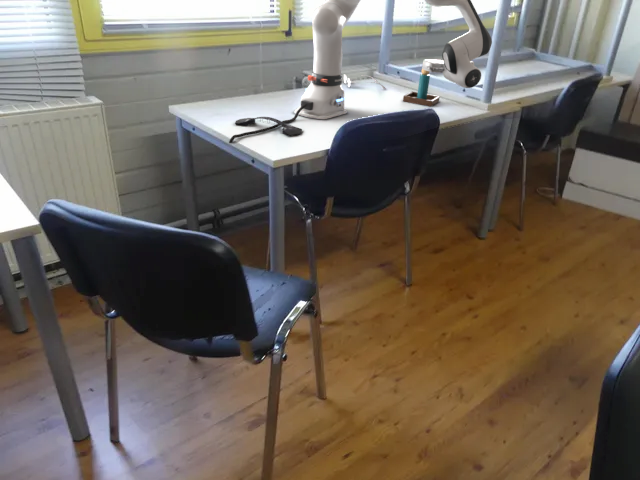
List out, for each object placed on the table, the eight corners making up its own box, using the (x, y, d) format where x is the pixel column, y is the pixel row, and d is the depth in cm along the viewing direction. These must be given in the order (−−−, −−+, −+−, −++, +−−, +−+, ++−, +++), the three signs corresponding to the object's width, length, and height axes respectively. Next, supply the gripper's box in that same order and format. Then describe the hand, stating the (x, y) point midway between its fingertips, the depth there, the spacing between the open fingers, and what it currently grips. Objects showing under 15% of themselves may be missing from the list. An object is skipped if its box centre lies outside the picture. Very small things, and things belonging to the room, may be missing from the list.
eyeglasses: (342, 81, 269) (343, 73, 267) (377, 82, 273) (378, 74, 271) (349, 89, 256) (350, 80, 254) (386, 90, 261) (387, 81, 259)
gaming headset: (293, 137, 186) (293, 127, 184) (231, 124, 193) (230, 114, 192) (305, 131, 193) (306, 121, 192) (245, 118, 201) (245, 109, 199)
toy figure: (424, 101, 244) (429, 68, 237) (415, 100, 245) (419, 66, 238) (427, 100, 247) (432, 66, 240) (418, 98, 249) (423, 65, 242)
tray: (431, 106, 240) (432, 101, 239) (402, 101, 244) (403, 95, 243) (439, 101, 249) (439, 96, 248) (411, 96, 253) (412, 91, 252)
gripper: (429, 77, 214) (415, 69, 226) (474, 78, 221) (459, 71, 232) (431, 60, 211) (417, 53, 222) (478, 62, 218) (461, 55, 229)
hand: (439, 62), depth 227 cm, fingers open, 8 cm apart
